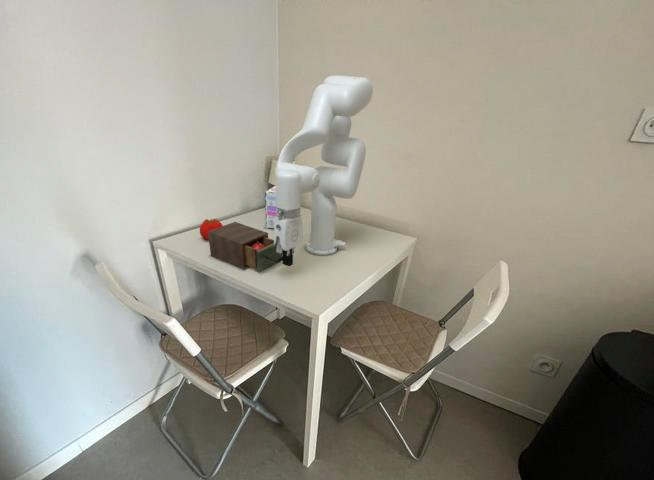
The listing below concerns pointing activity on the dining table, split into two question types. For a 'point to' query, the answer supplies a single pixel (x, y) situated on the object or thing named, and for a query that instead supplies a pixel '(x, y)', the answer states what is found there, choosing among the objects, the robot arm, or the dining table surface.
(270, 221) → the candy box
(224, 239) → the cabinet
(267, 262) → the drawer
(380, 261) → the dining table surface
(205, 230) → the tomato
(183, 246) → the dining table surface
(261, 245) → the apple
